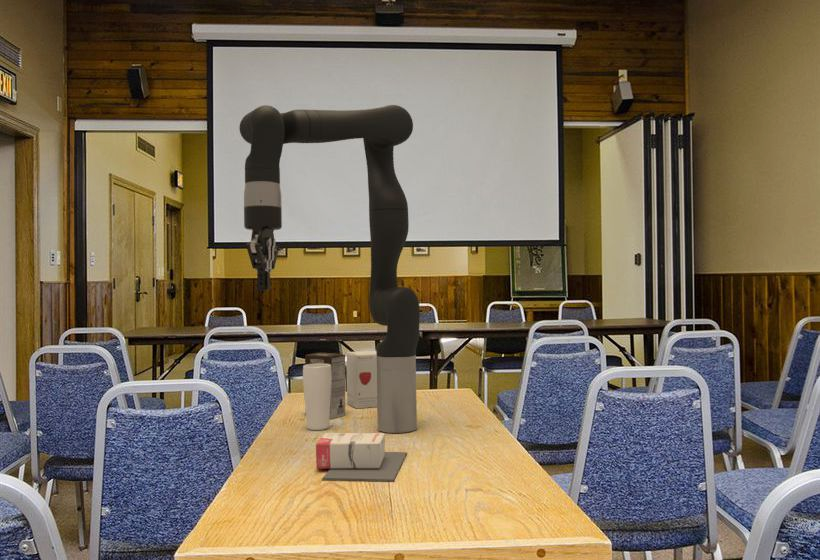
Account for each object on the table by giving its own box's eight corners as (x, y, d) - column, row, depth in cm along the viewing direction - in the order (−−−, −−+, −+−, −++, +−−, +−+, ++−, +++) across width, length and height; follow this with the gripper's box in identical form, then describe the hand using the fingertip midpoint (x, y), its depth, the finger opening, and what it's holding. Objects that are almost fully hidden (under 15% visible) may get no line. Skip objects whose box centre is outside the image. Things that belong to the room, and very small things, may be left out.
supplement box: (356, 409, 175) (355, 354, 175) (346, 404, 183) (345, 351, 183) (387, 406, 179) (386, 352, 179) (376, 401, 187) (375, 350, 187)
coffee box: (304, 416, 167) (303, 354, 167) (320, 411, 172) (319, 352, 172) (331, 419, 162) (330, 356, 162) (347, 415, 167) (346, 353, 167)
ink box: (315, 469, 116) (380, 470, 115) (315, 442, 116) (379, 442, 115) (325, 457, 124) (385, 457, 124) (325, 431, 125) (385, 432, 124)
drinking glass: (298, 430, 150) (297, 366, 150) (313, 424, 156) (312, 363, 156) (323, 432, 147) (322, 367, 148) (337, 426, 154) (336, 363, 154)
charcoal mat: (345, 453, 129) (345, 451, 129) (406, 454, 127) (406, 452, 127) (322, 480, 111) (322, 477, 111) (393, 481, 109) (393, 479, 109)
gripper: (269, 201, 124) (270, 290, 124) (290, 209, 137) (291, 290, 137) (232, 202, 125) (233, 291, 125) (256, 210, 138) (257, 290, 138)
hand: (263, 290), depth 131 cm, fingers closed
